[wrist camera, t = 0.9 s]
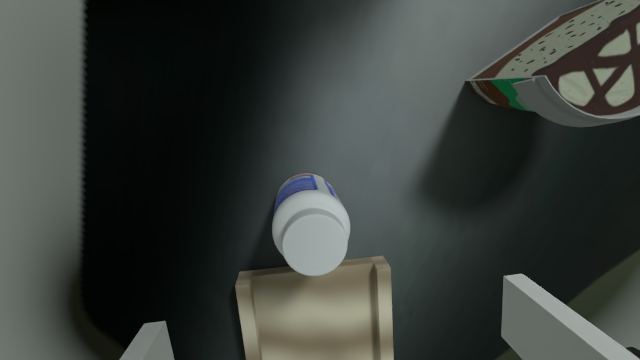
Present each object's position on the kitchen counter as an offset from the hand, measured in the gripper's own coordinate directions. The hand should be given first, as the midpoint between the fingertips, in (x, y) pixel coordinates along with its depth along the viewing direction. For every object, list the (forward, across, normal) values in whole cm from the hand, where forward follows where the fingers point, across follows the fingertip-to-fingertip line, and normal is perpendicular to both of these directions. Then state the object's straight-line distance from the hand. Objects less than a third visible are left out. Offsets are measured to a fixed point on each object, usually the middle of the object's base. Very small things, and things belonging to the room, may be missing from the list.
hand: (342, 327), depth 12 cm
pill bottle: (+17, -1, 0) cm, 17 cm away
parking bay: (+17, -1, -13) cm, 21 cm away
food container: (+17, +20, +9) cm, 27 cm away
